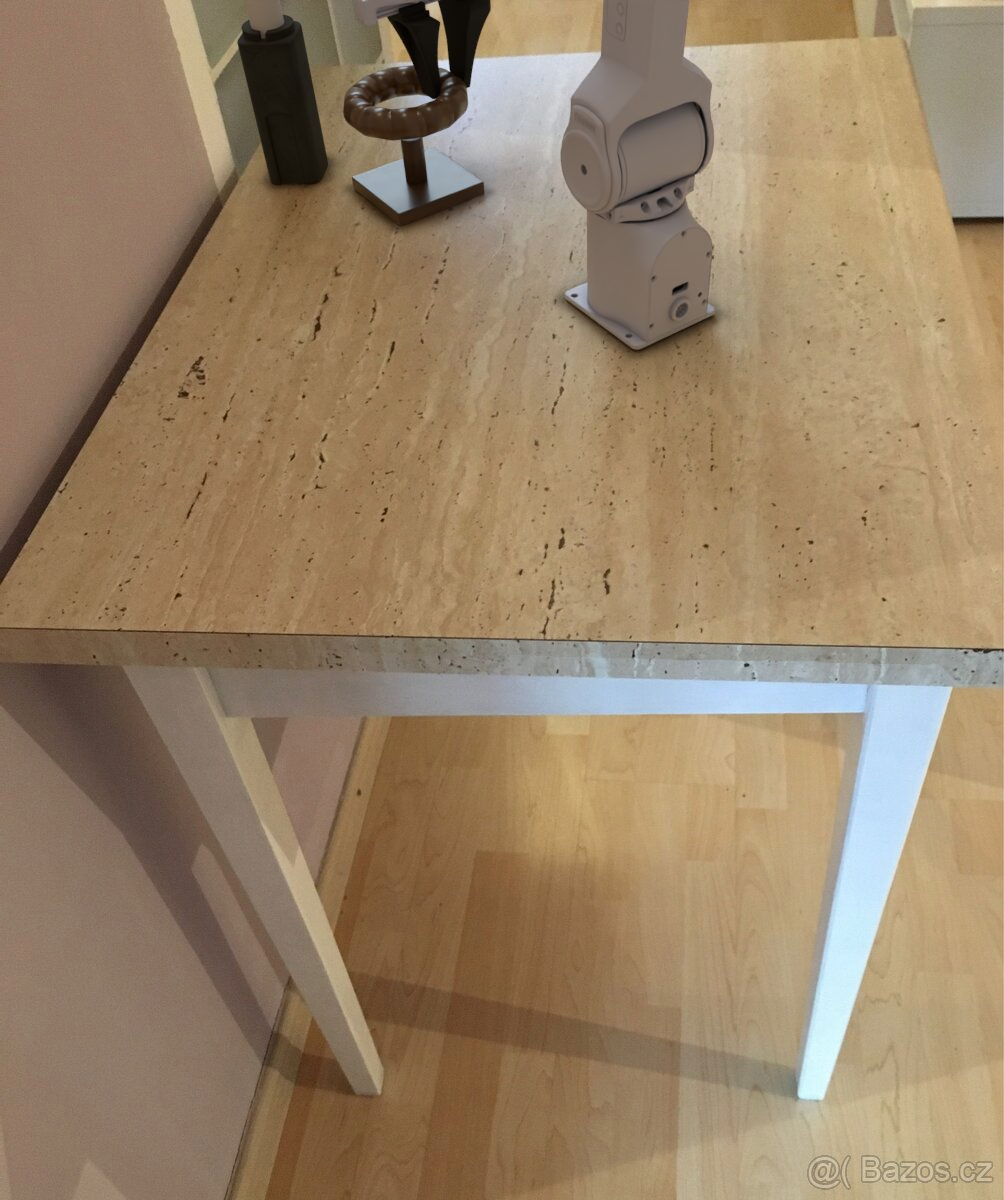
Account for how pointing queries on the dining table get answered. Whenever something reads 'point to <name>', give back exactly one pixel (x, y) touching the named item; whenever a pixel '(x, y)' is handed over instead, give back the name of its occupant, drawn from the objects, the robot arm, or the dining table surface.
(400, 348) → the dining table surface
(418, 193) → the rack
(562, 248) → the dining table surface
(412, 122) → the segmented ring
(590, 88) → the robot arm
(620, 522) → the dining table surface
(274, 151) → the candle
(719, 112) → the dining table surface
